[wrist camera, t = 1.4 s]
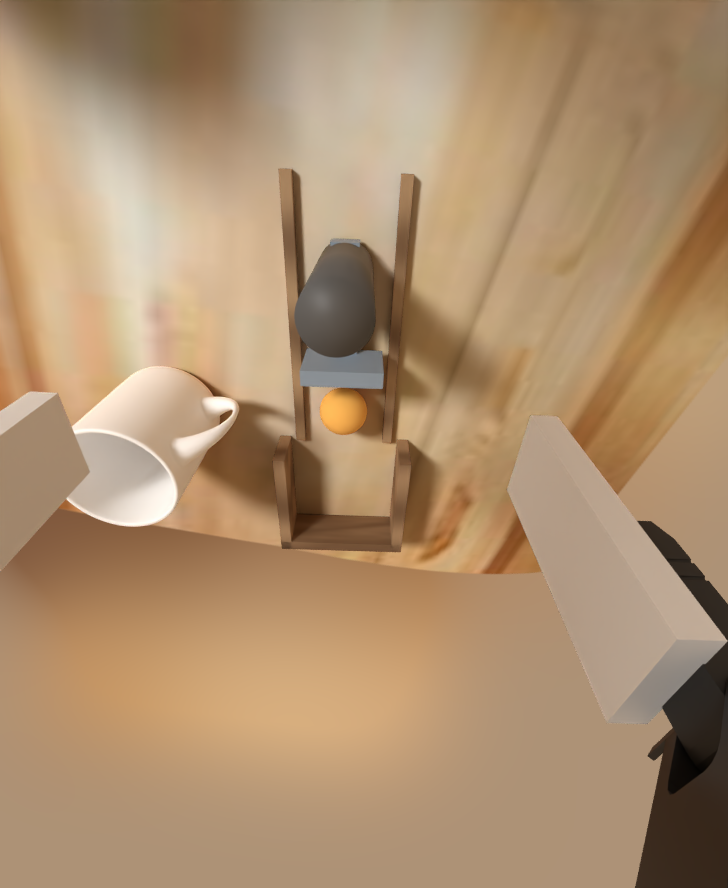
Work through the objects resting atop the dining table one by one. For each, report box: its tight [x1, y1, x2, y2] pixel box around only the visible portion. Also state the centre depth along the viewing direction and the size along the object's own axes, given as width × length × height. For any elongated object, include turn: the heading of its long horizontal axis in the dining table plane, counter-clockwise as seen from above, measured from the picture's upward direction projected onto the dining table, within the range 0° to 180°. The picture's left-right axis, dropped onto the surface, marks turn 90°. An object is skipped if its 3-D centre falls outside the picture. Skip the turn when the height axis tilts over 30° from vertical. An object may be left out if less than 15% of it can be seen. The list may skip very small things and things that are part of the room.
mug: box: [66, 366, 239, 527], centre depth 33 cm, size 9×12×11 cm
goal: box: [272, 436, 411, 552], centre depth 40 cm, size 11×12×4 cm
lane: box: [279, 169, 414, 443], centre depth 33 cm, size 21×9×1 cm, turn 178°
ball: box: [320, 388, 367, 435], centre depth 35 cm, size 4×4×4 cm
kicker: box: [294, 239, 384, 389], centre depth 27 cm, size 9×6×12 cm, turn 178°
